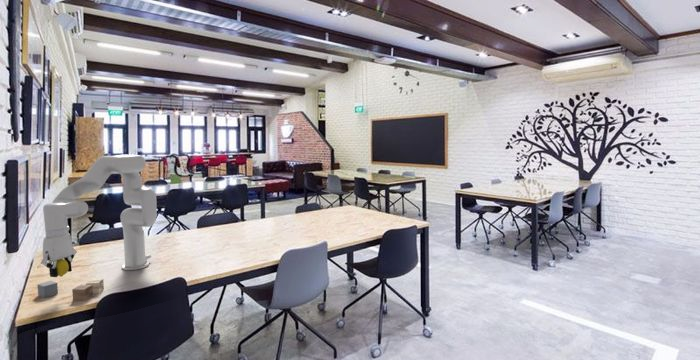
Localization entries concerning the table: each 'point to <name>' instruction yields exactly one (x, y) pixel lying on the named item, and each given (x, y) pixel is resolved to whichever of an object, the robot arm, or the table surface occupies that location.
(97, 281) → the maple cube
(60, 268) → the lemon
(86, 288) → the walnut cube
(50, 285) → the blue-grey cube
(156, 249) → the table surface
